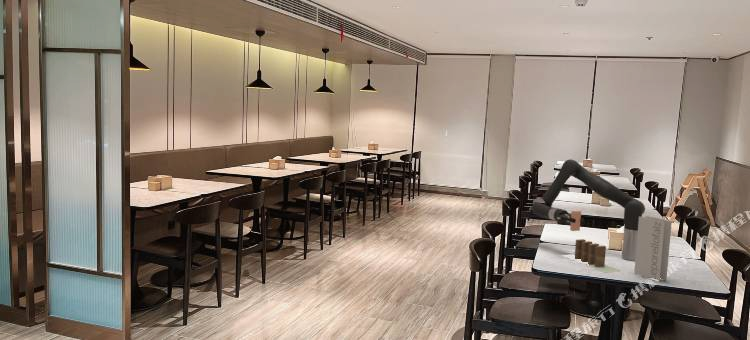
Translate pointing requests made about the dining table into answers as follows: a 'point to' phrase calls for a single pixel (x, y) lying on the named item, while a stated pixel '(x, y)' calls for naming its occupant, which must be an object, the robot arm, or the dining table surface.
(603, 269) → the mat
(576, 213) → the tile
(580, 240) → the tile
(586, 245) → the tile
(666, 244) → the brochure
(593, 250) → the tile
